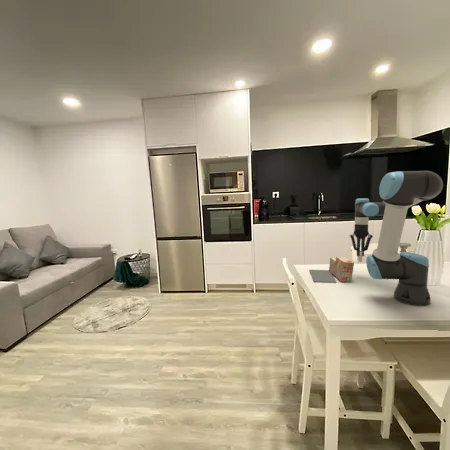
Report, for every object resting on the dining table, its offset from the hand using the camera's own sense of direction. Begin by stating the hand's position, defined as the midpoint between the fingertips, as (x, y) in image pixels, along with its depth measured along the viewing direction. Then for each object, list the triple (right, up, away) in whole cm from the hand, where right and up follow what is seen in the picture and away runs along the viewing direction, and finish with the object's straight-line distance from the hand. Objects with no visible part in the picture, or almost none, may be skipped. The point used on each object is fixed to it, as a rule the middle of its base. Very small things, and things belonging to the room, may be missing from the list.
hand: (360, 261), depth 169 cm
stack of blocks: (-11, -10, +4) cm, 16 cm away
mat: (-22, -10, +6) cm, 25 cm away
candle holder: (+28, -10, +3) cm, 30 cm away
